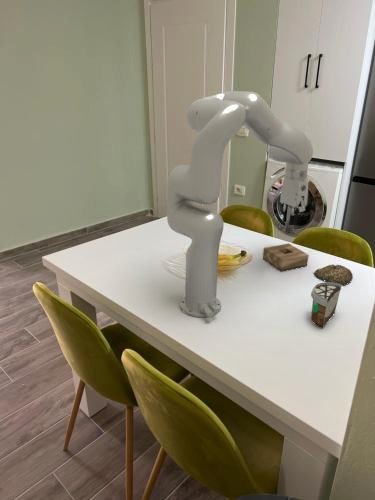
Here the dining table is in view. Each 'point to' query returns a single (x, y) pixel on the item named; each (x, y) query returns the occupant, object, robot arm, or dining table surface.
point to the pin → (289, 227)
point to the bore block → (285, 257)
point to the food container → (324, 302)
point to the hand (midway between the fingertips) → (289, 222)
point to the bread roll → (334, 274)
